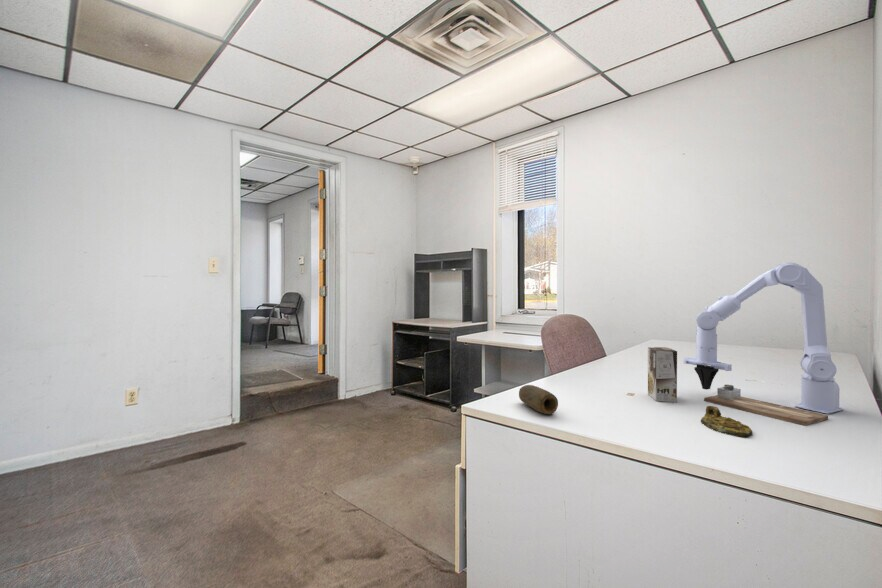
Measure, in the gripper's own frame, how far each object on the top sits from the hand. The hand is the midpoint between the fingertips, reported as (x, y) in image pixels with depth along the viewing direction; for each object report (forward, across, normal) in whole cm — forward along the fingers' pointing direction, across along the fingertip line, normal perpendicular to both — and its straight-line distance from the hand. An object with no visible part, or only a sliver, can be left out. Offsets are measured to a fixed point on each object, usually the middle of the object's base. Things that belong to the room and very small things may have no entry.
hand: (706, 388), depth 135 cm
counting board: (+2, +16, 0) cm, 16 cm away
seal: (+3, +21, -26) cm, 33 cm away
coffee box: (+3, -5, -15) cm, 16 cm away
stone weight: (+3, -13, -59) cm, 60 cm away
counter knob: (+1, +7, 0) cm, 7 cm away
